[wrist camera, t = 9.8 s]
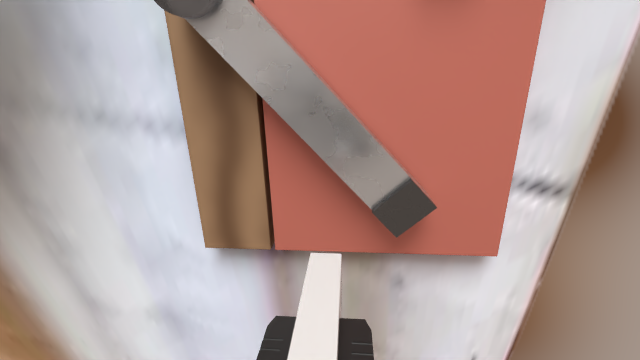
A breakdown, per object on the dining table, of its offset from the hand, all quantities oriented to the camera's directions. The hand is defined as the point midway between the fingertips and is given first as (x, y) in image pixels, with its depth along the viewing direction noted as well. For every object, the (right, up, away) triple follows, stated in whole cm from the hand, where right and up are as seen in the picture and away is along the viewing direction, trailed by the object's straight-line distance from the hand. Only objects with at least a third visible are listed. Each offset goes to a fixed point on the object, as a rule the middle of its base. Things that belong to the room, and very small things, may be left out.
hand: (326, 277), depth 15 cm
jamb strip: (-9, +13, +14) cm, 21 cm away
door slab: (+6, +13, +12) cm, 18 cm away
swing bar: (-2, +12, +10) cm, 15 cm away
